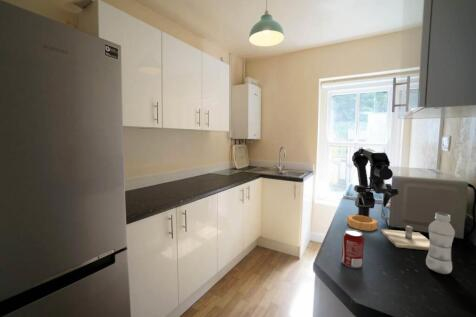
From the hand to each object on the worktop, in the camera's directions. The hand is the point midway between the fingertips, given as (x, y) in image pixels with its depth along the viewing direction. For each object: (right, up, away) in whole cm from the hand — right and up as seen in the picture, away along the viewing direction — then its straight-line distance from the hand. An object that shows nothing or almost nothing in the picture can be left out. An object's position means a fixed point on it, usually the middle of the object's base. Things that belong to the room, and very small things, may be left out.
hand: (374, 206), depth 113 cm
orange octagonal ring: (-5, -11, +2) cm, 12 cm away
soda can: (-30, -14, -34) cm, 47 cm away
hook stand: (+6, -12, -15) cm, 20 cm away
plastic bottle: (-2, -14, -38) cm, 40 cm away
